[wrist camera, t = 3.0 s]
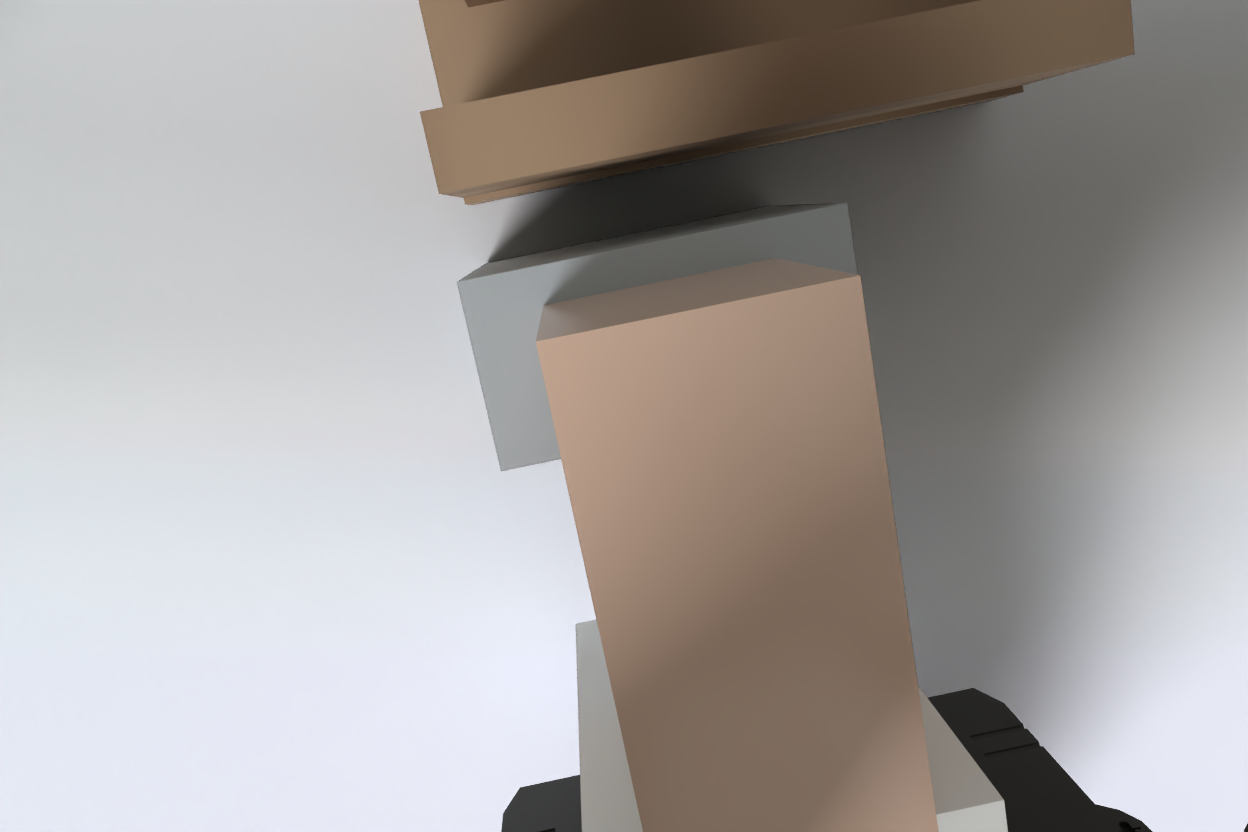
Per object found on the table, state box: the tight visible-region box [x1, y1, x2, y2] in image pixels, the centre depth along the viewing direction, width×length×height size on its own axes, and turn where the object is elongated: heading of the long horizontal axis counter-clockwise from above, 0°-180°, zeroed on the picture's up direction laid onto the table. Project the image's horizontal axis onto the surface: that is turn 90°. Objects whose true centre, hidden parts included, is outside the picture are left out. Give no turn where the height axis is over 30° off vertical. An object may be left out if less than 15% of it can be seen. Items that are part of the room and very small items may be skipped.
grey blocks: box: [457, 203, 857, 471], centre depth 16 cm, size 5×15×4 cm, turn 11°
